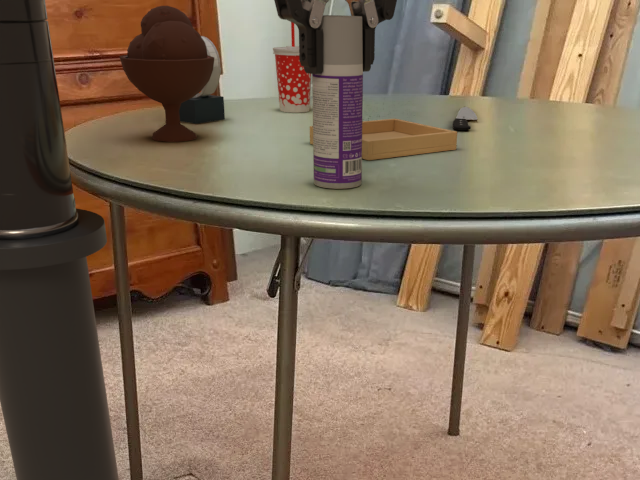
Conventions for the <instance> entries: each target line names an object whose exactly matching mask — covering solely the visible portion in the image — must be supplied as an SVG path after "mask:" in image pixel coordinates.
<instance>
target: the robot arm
mask: <svg viewBox="0 0 640 480" xmlns="http://www.w3.org/2000/svg"><path fill="white" fill-rule="evenodd" d="M273 1H274V5H275V9H276V13H277V16H278V18H279V19H281V20H285V21H288V22H290V23H291V22H292V23H294V25H295V26H296V27H297V29H298V46H299V53H300V54H299V61H300V63H301V66H304V70H305V72H306V73H310V74H311V75H312V74H322V72H323V30H321V29H319V26H320V25H321V21H322V17H323V15H324V12H325V9H326V5H327V3H329V2H330V0H273ZM344 1H345V2H346V3H347V5H348V8H349V13H350V16H361V17H362V41H363V73H364V72H365V73H366V72H370V71H371V69H372V68H371V67H372V65H374V62H375V58H376V57H375V54H376V53H375V51H376V48H375V47H376V28H377V26H378V25H379V24H381V23H382V22H385V21H390V20H392V19H393V18H394V16H395V12H396V7H397V2H398V0H344ZM47 11H48V10H47V4H46V0H0V240H21V239H32V238H39V237H45V236H50V235H55V234H58V233H62V232H65V231H67V230H70V229H72V228H74V227H75V226H76V225H77V224H78V223H79V220H78V213H77V211H76V209H77V208H76V206H77V205H76V204H77V203H76V198H75V195H74V187H73V183H72V181H73V180H72V176H71V168H70V161H69V154H68V147H67V140H66V133H65V126H64V121H63V120H64V119H63V114H62V113H63V112H62V107H61V100H60V94H59V86H58V79H57V72H56V67H55V60H54V52H53V46H52V38H51V32H50V25H49V21H48V12H47Z"/></svg>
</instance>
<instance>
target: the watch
mask: <svg viewBox="0 0 640 480" xmlns="http://www.w3.org/2000/svg"><path fill="white" fill-rule="evenodd" d="M200 36H201V37H202V39H203V40H204V42H205V44H206V48H207V55H208V56H212V57H214V66H213V72H212V75H211V77H210V80H209V82H208V83H207V84H206V85H205V87H204V88H203V89H202V90H201V91H200V92H199V93H198V94H196V95H195V96H194V97H193V98H191V99H189V100H187V101H185V102H183V103H181V106H180V109H179V115H180V123H189V124H195V125H198V124H203V123H204V124H205V123H211V122H219V121H223V120H225V119H226V115H225V99H224V96H223V95H215V92H216V90H217V88H218V86H219V83H220V78H221V75H222V67H221V58H220V55H219V51H218V50H217V47H216V46H215V44H214V42H212V41H211V40H210V38H208V37H206V36H204V35H200Z"/></svg>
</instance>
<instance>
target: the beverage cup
mask: <svg viewBox="0 0 640 480" xmlns="http://www.w3.org/2000/svg"><path fill="white" fill-rule="evenodd" d="M290 32H291V33H290V34H291V35H290V36H291V45H286V46H276V47H272V54H273V55H274V58H275V59H274V61H275V69H276V71H275V72H276V83H277V93H278V104H279V111H280V112H283V113H308V112H310V109H311V89H312V87H311V85H312V74H310V73H306V72H305V70H304V66H301V63H300V61H299V54H300V53H299V45H296V42H295V41H296V39H295V38H296V37H295V35H296V34H295V24H294V23H292V22H290Z"/></svg>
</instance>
